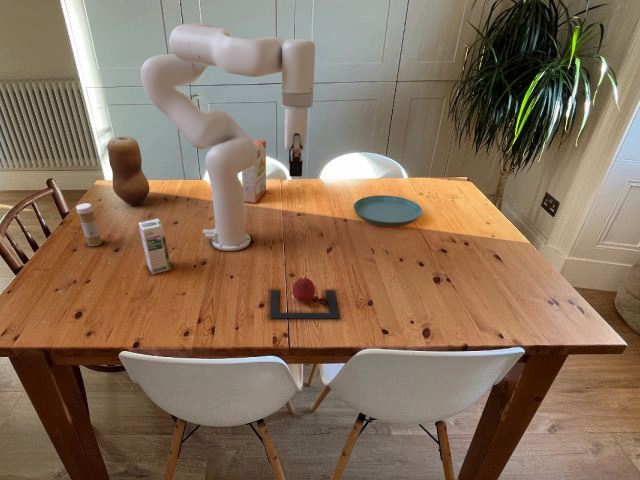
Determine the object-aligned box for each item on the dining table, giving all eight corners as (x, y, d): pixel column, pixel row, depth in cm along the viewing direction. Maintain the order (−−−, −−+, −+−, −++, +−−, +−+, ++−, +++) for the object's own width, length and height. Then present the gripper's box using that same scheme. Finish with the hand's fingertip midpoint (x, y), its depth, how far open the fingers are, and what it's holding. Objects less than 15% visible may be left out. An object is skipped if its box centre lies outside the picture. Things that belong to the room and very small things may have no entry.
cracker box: (257, 203, 160) (255, 149, 148) (242, 202, 161) (239, 148, 149) (267, 191, 171) (266, 139, 159) (253, 189, 172) (251, 138, 161)
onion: (313, 309, 104) (314, 283, 100) (290, 307, 105) (291, 281, 100) (315, 296, 109) (316, 271, 104) (293, 294, 110) (294, 269, 105)
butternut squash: (158, 202, 162) (146, 137, 148) (128, 212, 154) (113, 145, 140) (138, 193, 170) (125, 131, 156) (109, 203, 162) (93, 138, 148)
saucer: (389, 198, 163) (391, 190, 161) (435, 221, 145) (437, 213, 143) (339, 210, 154) (340, 202, 152) (381, 236, 136) (383, 227, 134)
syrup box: (152, 275, 118) (142, 229, 110) (147, 265, 123) (137, 221, 114) (171, 270, 120) (163, 225, 112) (166, 261, 125) (158, 217, 116)
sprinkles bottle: (101, 239, 137) (91, 201, 129) (102, 245, 133) (91, 207, 125) (87, 242, 135) (75, 203, 128) (87, 248, 132) (75, 209, 124)
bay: (270, 318, 101) (270, 318, 101) (271, 291, 111) (271, 290, 111) (339, 319, 101) (339, 318, 101) (333, 291, 111) (333, 290, 111)
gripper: (281, 93, 105) (281, 159, 115) (281, 107, 91) (280, 181, 101) (310, 93, 105) (307, 159, 115) (315, 107, 91) (311, 181, 101)
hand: (295, 169), depth 108 cm, fingers open, 9 cm apart
